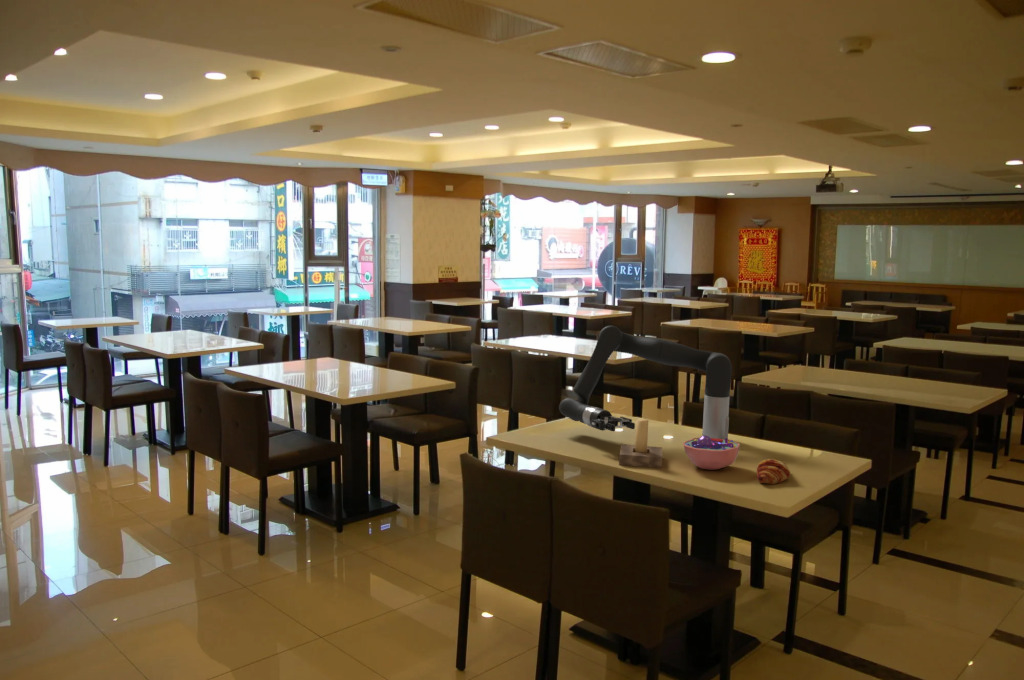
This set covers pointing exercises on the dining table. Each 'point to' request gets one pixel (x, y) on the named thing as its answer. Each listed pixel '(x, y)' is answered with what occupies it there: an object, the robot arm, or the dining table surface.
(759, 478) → the croissant
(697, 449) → the cell model
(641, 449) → the peg
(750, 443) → the dining table surface
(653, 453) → the hole block
